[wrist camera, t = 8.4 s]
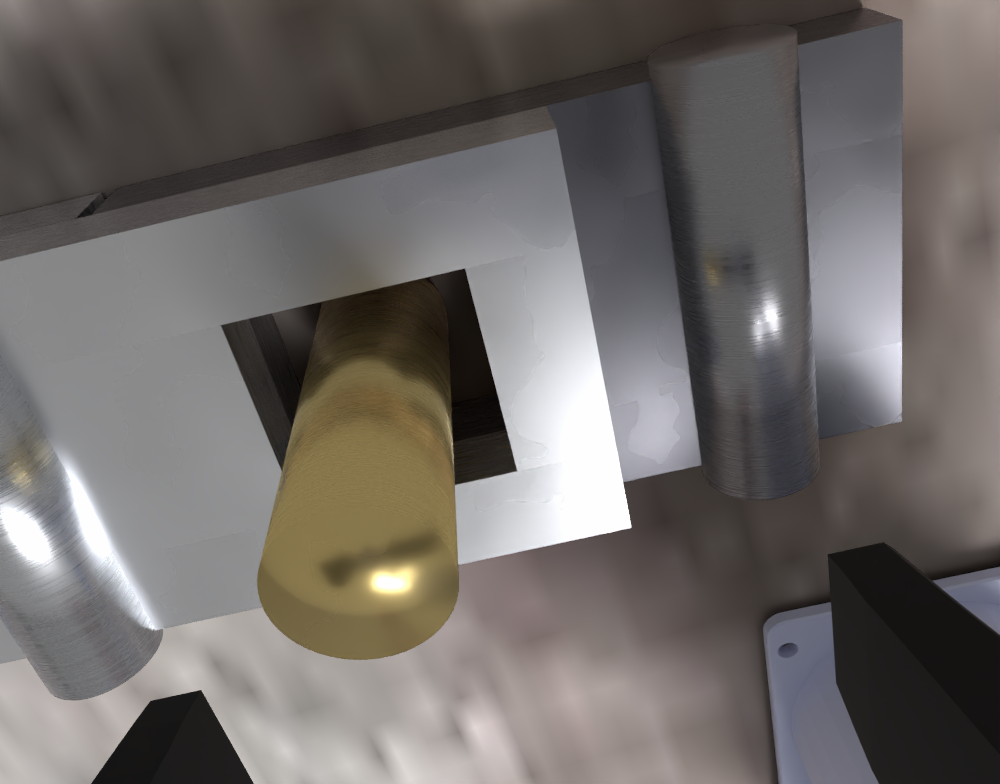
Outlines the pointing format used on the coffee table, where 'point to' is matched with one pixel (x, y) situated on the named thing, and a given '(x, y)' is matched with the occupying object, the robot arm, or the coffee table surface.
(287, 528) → the brass pin
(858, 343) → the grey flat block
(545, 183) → the silver hollow frame
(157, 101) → the coffee table surface
